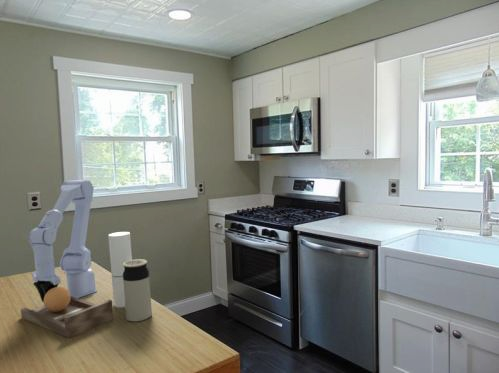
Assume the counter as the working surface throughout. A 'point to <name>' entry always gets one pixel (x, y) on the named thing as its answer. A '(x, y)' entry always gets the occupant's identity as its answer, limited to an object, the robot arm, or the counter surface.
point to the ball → (57, 299)
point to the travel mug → (137, 290)
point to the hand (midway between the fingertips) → (48, 301)
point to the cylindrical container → (119, 263)
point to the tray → (71, 316)
